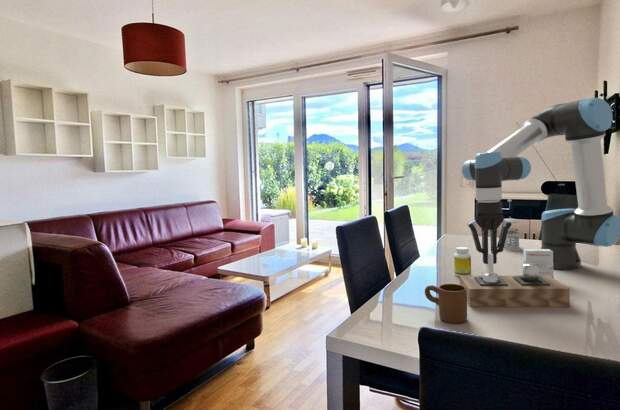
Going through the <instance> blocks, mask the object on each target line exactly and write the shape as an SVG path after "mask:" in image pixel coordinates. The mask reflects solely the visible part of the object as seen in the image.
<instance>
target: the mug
mask: <svg viewBox="0 0 620 410" xmlns="http://www.w3.org/2000/svg"><path fill="white" fill-rule="evenodd" d="M431 291H432V292H434V293H436V294H437V295H438V297H437V296H434V295H432V293H431ZM424 295H425V297H426V299H427V300H428V301H430V302H431V303H435V304H436V305H437V306H438V315H439V319H440V320H442V322H445V323H448V324H454V325H456V324H458V325H459V324H460V325H461V324H463V322H464V323H465V322H466V321H467V320H468V303H467V293H466V288H465V287H464V286H462V285H460V284H458V283H457V284H456V283H444V284H441V285H440V284H439V286H438V287H437V286H435V285H433V284H432V285H431V284H429V285H427V286H426V287H425V289H424Z"/></svg>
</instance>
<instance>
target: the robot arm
mask: <svg viewBox="0 0 620 410" xmlns="http://www.w3.org/2000/svg"><path fill="white" fill-rule="evenodd" d="M613 116H614V115H613V112H612V108H611V107H610V105H609V103H608V102H607V101H606V100H605V99H602V98H599V97H591V98H590V97H589V98H583V99H579V100H574V101H570V102H565V103H558V104H554V105H552V106H549V107H547V108H545V109H543V110H541V111H540V112H538V113H536V114H535V115H533V116H532V117H529V119H527V120H525V122H524V123H523V125H522V127H520V128H519V129H518V130H516V131H514V133H512V134H510V135H509V136H508V137H506V138H505V139H503V140H502V141H500V142H499V143H498V144H496V145H495V146H494V147H492V148H491V149H489V150H488V151H487V152H478V153H476V155H475V158H472V159H469V160H466V161H464V162H463V165H462V167H461V173H462V176H463V178H464V179H466V180H468V181H475V200H476V202H475V216H474V220H472V221H471V222H468V223H467V224H466V225H467V227H468V228H469V229H470V232H471V236H472V239H473V242H474V246H475V249H476V250H475V251H477V252H478V253H481V254H482V262H483V264H485V272H487V273H488V274H489V275H494V273H495V272H494V265H496V264H497V262H498V261H497V259H498V257H497V255H498V253H503V251H504V250H503V248H504V244H505V240H506V236H507V233H508V229H509V228H511V227H512V224H511V223H510V222H508V221H506V220H504V219H505V218H504V215H503V202H502V201H501V200H503V195H502V194H503V191H502V190H503V189H502V188H503V187H502V185H503V184H502V183H503V182H507V181H519V180H523V179H526V178H527V177H528V176H529V175H530V173H531V169H532V167H531V162H530V161H529V160H528V159H527V157H523V156H519V155H520V154H521V153H523V152H525V151H526V150H527V149H529V148H530V147H531V146H532V145H534V144H536V143H541V142H543V141H544V140H545V139H548V138H551V137H558V136H559V137H560V136H564V137H565V142H567V143H568V144H570V146H571V155H572V156H571V157H572V163H573V164H572V165H573V173H574V179H575V189H576V198H577V208H561V209H560V208H558V209H551V210H545V211H542V212H541V213H542V214H541V220H540V223H541V247H540V249H550V250H551V251H553V270H554V269H555V270H577V269H580V268H581V267H582V260H581V258H580V255H579V252H578V249H577V245H576V244H582V245H588V246H595V247H605V248H608V247H613V245H615V244H617V242H618V241H619V239H620V216H618V215H615V214H614V209H613V207H611V206H610V205H609V204H608V201H607V191H606V180H605V169H604V159H603V152H602V151H603V150H602V142H601V140H602V139H603V138H604V137H605V136H606V134H607V133H606V131H607V130H609V129H610V128H611V126H612V124H613V123H612V122H613V119H614V118H613ZM501 225H502V227H501V229H500V233H499V238H498V237H497V236H498V232H497V231H498V228H499V227H500V226H501ZM477 226H478V227H479V228H480V229H481V240H480V238H479V233H478V231H477ZM489 232H490V236H489ZM489 237H490V239H489ZM497 239H498V240H497ZM489 240H490V252H489ZM480 241H481V242H480Z"/></svg>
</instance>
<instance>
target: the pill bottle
mask: <svg viewBox="0 0 620 410" xmlns="http://www.w3.org/2000/svg"><path fill="white" fill-rule="evenodd" d="M471 256H472V255H471V253H469V247H466V246H457V247H456V248H455V253H454V254H453V264H454V265H453V268H454V275H455V276H456V277H459V278H460V276H472V257H471Z"/></svg>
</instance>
